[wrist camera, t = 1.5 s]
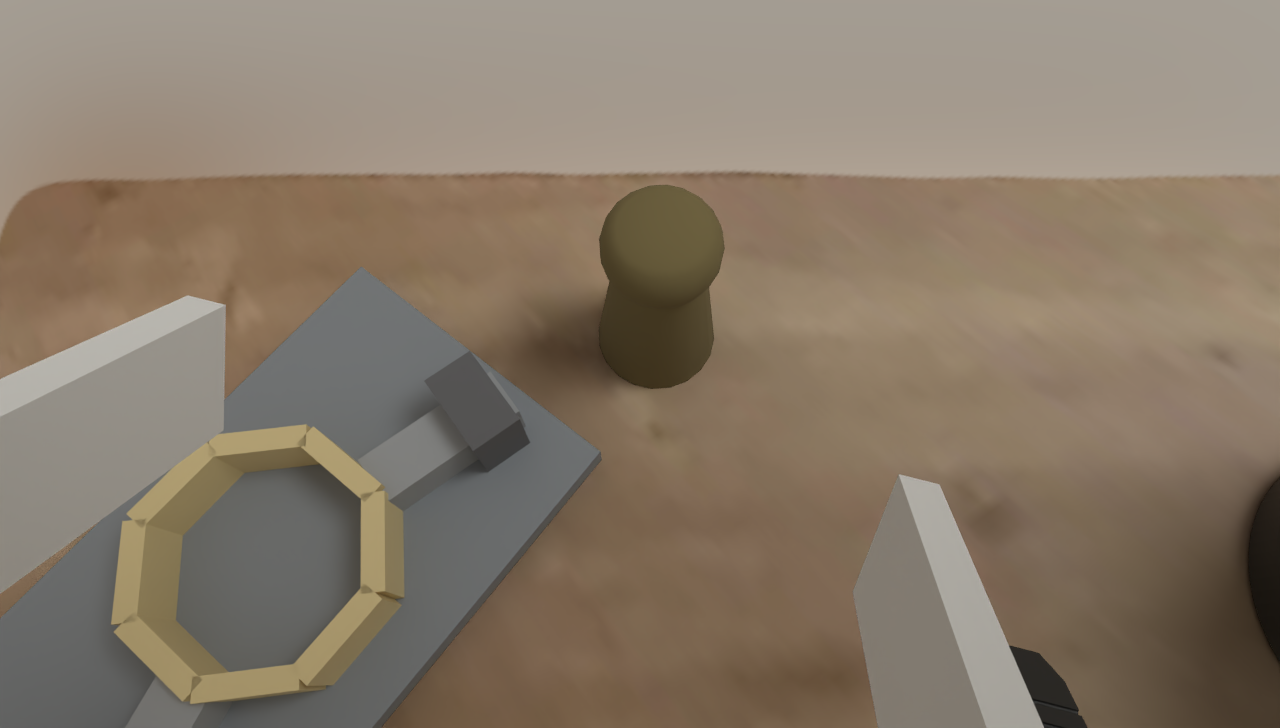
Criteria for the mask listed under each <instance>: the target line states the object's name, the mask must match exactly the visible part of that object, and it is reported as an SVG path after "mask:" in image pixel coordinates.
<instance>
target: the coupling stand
mask: <svg viewBox="0 0 1280 728" xmlns="http://www.w3.org/2000/svg"><path fill="white" fill-rule="evenodd" d="M601 460H602V459H601V453H600V451H599V450H598V449H596V448H595V447H594V446H592V445H591V444H590V443H588V442H587V441H586V440H585V439H583V438H582V437H581V436H579V435H578V434H577V433H576V432H574V431H573V430H572V429H570V428H569V427H568V426H566V425H565V424H564V423H563V422H561V421H560V420H559V419H557V418H556V417H555V416H554V415H552V414H551V413H550V412H548V411H547V410H546V409H545V408H543V407H542V406H541V405H539V404H538V403H537V402H535V401H534V400H533V399H532V398H530V397H529V396H528V395H526V394H525V393H524V392H523V391H521V390H520V389H519V388H517V387H516V386H515V385H514V384H512V383H511V382H510V381H508V380H507V379H506V378H504V377H503V376H502V375H501V374H499V373H498V372H497V371H495V370H494V369H493V368H492V367H490V366H489V365H488V364H486V363H485V362H484V361H482V360H481V359H480V358H479V357H477V356H476V355H475V354H473V353H472V352H471V351H470V350H468V349H467V348H466V347H464V346H463V345H462V344H461V343H459V342H458V341H457V340H455V339H454V338H453V337H451V336H450V335H449V334H448V333H446V332H445V331H444V330H442V329H441V328H440V327H439V326H437V325H436V324H435V323H433V322H432V321H431V320H430V319H428V318H427V317H426V316H424V315H423V314H422V313H420V312H419V311H418V310H417V309H415V308H414V307H413V306H411V305H410V304H409V303H408V302H406V301H405V300H404V299H402V298H401V297H400V296H399V295H397V294H396V293H395V292H393V291H392V290H391V289H389V288H388V287H387V286H386V285H384V284H383V283H382V282H380V281H379V280H378V279H377V278H375V277H374V276H373V275H371V274H370V273H369V272H367V271H366V270H365V269H364V268H362V267H360V268H359V269H358V270H357V271H356V272H355V273H354V274H353V275H352V276H351V277H350V278H349V279H348V280H347V281H346V282H345V283H344V284H343V285H342V286H341V287H340V288H339V289H338V290H337V291H336V292H335V293H334V294H333V295H332V296H331V297H330V298H329V299H327V300H326V301H325V302H324V303H323V304H322V305H321V306H320V307H319V308H318V309H317V310H316V311H315V312H314V313H313V314H312V315H311V316H310V317H309V318H308V319H307V320H306V321H305V322H304V323H303V324H302V325H301V326H300V327H299V328H298V329H297V330H296V331H295V332H294V333H293V334H292V335H291V336H290V337H288V338H287V339H286V340H285V341H284V342H283V343H282V344H281V345H280V346H279V347H278V348H277V349H276V350H275V351H274V352H273V353H272V354H271V355H270V356H269V357H268V358H267V359H266V360H265V361H264V362H263V363H262V364H261V365H260V366H259V367H258V368H257V369H256V370H255V371H254V372H253V373H252V374H251V375H249V376H248V377H247V378H246V379H245V380H244V381H243V382H242V383H241V384H240V385H239V386H238V387H237V388H236V389H235V390H234V391H233V392H232V393H231V394H230V395H229V396H228V397H227V398H226V399H225V400H224V430H223V431H222V432H221V433H219V434H218V435H216V436H215V437H214V438H212V439H211V440H210V441H208V442H207V443H206V444H204V445H203V446H201V447H200V448H199V449H197V450H196V451H195V452H193V453H192V454H190V455H189V456H188V457H186V458H185V459H184V460H182V461H181V462H180V463H178V464H177V465H175V466H174V467H173V468H171V469H170V470H169V471H167V472H166V473H165V474H163V475H162V476H160V477H159V478H158V479H156V480H155V481H154V482H152V483H151V484H150V485H148V486H147V487H145V488H144V489H143V490H141V491H140V492H139V493H137V494H136V495H134V496H133V497H132V498H130V499H129V500H128V501H126V502H125V503H124V504H122V505H121V506H119V507H118V508H117V509H115V510H114V511H113V512H111V513H110V514H109V515H107V516H106V517H104V518H103V519H102V520H101V521H100V522H99V523H98V524H97V525H96V526H95V527H94V528H92V529H91V530H90V531H89V532H88V533H87V534H86V535H85V536H84V537H83V538H82V539H81V540H80V541H79V542H78V543H77V544H76V545H75V546H74V547H73V548H72V549H71V550H70V551H69V552H68V553H67V554H66V555H65V556H64V557H63V558H62V559H61V560H60V561H59V562H58V563H57V564H56V565H55V566H53V567H52V568H51V569H50V570H49V571H48V572H47V573H46V574H45V575H44V576H43V577H42V578H41V579H40V580H39V581H38V582H37V583H36V584H35V585H34V586H33V587H32V588H31V589H30V590H29V591H28V592H27V593H26V594H25V595H24V596H23V597H22V598H21V599H20V600H19V601H18V602H17V603H16V604H14V605H13V606H12V607H11V608H10V609H9V610H8V611H7V612H6V613H5V614H4V615H3V616H2V617H1V618H0V728H381V727H382V726H383V725H384V723H385V722H386V721H387V720H388V718H389V717H390V716H391V715H392V714H393V712H394V711H395V710H396V709H397V708H398V706H399V705H400V704H401V703H402V701H403V700H404V699H405V698H406V697H407V695H408V694H409V693H410V692H411V691H412V689H413V688H414V687H415V686H416V684H417V683H418V682H419V681H420V680H421V678H422V677H423V676H424V675H425V674H426V672H427V671H428V670H429V669H430V667H431V666H432V665H433V664H434V663H435V661H436V660H437V659H438V658H439V657H440V655H441V654H442V653H443V652H444V650H445V649H446V648H447V647H448V646H449V644H450V643H451V642H452V641H453V640H454V638H455V637H456V636H457V635H458V633H459V632H460V631H461V630H462V629H463V627H464V626H465V625H466V624H467V623H468V621H469V620H470V619H471V618H472V616H473V615H474V614H475V613H476V612H477V610H478V609H479V608H480V607H481V606H482V604H483V603H484V602H485V601H486V599H487V598H488V597H489V596H490V595H491V593H492V592H493V591H494V590H495V589H496V587H497V586H498V585H499V584H500V582H501V581H502V580H503V579H504V578H505V576H506V575H507V574H508V573H509V572H510V570H511V569H512V568H513V567H514V565H515V564H516V563H517V562H518V561H519V559H520V558H521V557H522V556H523V554H524V553H525V552H526V551H527V550H528V548H529V547H530V546H531V545H532V544H533V542H534V541H535V540H536V539H537V537H538V536H539V535H540V534H541V533H542V531H543V530H544V529H545V528H546V527H547V525H548V524H549V523H550V522H551V520H552V519H553V518H554V517H555V516H556V514H557V513H558V512H559V511H560V510H561V508H562V507H563V506H564V505H565V503H566V502H567V501H568V500H569V499H570V497H571V496H572V495H573V494H574V493H575V491H576V490H577V489H578V488H579V486H580V485H581V484H582V483H583V482H584V480H585V479H586V478H587V477H588V476H589V474H590V473H591V472H592V471H593V469H594V468H595V467H596V466H597V465H598V463H599V462H600V461H601Z"/></svg>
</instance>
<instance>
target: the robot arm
mask: <svg viewBox="0 0 1280 728" xmlns="http://www.w3.org/2000/svg"><path fill="white" fill-rule="evenodd" d="M225 317H226V305H224V304H220V303H216V302H212V301H208V300H204V299H200V298H196V297H192V296H185V297H183V298H181V299H179V300H176V301H174V302H172V303H170V304H167V305H165V306H163V307H161V308H159V309H156V310H154V311H152V312H150V313H147V314H145V315H143V316H141V317H138V318H136V319H134V320H132V321H129V322H127V323H125V324H123V325H120V326H118V327H116V328H114V329H111V330H109V331H107V332H105V333H102V334H100V335H98V336H96V337H93V338H91V339H89V340H87V341H84V342H82V343H80V344H78V345H75V346H73V347H71V348H69V349H67V350H64V351H62V352H60V353H58V354H55V355H53V356H51V357H49V358H46V359H44V360H42V361H40V362H37V363H35V364H33V365H31V366H28V367H26V368H24V369H22V370H19V371H17V372H15V373H13V374H10V375H8V376H6V377H4V378H1V379H0V594H1V593H2V592H3V591H5V590H6V589H7V588H9V587H10V586H12V585H13V584H14V583H16V582H17V581H18V580H20V579H21V578H22V577H24V576H25V575H27V574H28V573H29V572H31V571H32V570H33V569H35V568H36V567H38V566H39V565H40V564H42V563H43V562H44V561H46V560H47V559H48V558H50V557H51V556H53V555H54V554H55V553H57V552H58V551H59V550H61V549H62V548H63V547H65V546H66V545H68V544H69V543H70V542H72V541H73V540H74V539H76V538H77V537H78V536H80V535H81V534H83V533H84V532H85V531H87V530H88V529H89V528H91V527H92V526H94V525H95V524H96V523H98V522H99V521H100V520H102V519H103V518H104V517H106V516H107V515H109V514H110V513H111V512H113V511H114V510H115V509H117V508H118V507H119V506H121V505H122V504H124V503H125V502H126V501H128V500H129V499H130V498H132V497H133V496H134V495H136V494H137V493H139V492H140V491H141V490H143V489H144V488H145V487H147V486H148V485H150V484H151V483H152V482H154V481H155V480H156V479H158V478H159V477H160V476H162V475H163V474H165V473H166V472H167V471H169V470H170V469H171V468H173V467H174V466H175V465H177V464H178V463H180V462H181V461H182V460H184V459H185V458H186V457H188V456H189V455H190V454H192V453H193V452H195V451H196V450H197V449H199V448H200V447H201V446H203V445H204V444H206V443H207V442H208V441H210V440H211V439H212V438H214V437H215V436H216V435H218V434H219V433H221V432H222V431H223V430H224V378H225ZM1249 573H1250V582H1251V588H1252V594H1253V598H1254V602H1255V606H1256V609H1257V613H1258V616H1259V619H1260V621H1261V624H1262V627H1263V629H1264V632H1265V634H1266V636H1267V638H1268V641H1269V643H1270V645H1271V647H1272V648H1273V650H1274V652H1275V654H1276V656H1277V658H1278V659H1279V661H1280V478H1279V479H1278V480H1277V481H1276V483H1275V484H1274V485H1273V486H1272V487H1271V489H1270V490H1269V492H1268V493H1267V494H1266V496H1265V498H1264V500H1263V501H1262V503H1261V505H1260V508H1259V510H1258V512H1257V515H1256V518H1255V521H1254V524H1253V528H1252V532H1251V538H1250V546H1249ZM853 597H854V602H855V607H856V613H857V618H858V623H859V629H860V634H861V639H862V645H863V650H864V655H865V661H866V666H867V671H868V677H869V682H870V687H871V693H872V698H873V703H874V709H875V714H876V719H877V725H878V728H1087V726H1086V724H1085V722H1084V720H1083V718H1082V716H1080V715H1078V711H1079V710H1078V708H1077V706H1076V704H1075V702H1074V699H1073V697H1072V695H1071V693H1070V691H1069V689H1068V687H1067V685H1066V683H1065V681H1064V680H1063V679H1062V678H1061V677H1060V676H1059V675H1058V674H1057V673H1056V671H1055V670H1054V669H1053V668H1052V667H1051V666H1050V665H1049V664H1048V663H1047V662H1046V661H1045V659H1044V658H1043V657H1042V656H1041V655H1040V654H1039V653H1036V652H1033V651H1029V650H1025V649H1021V648H1017V647H1013V646H1009V645H1008V643H1007V640H1006V638H1005V636H1004V633H1003V631H1002V629H1001V626H1000V624H999V622H998V619H997V617H996V615H995V613H994V610H993V608H992V606H991V603H990V601H989V599H988V596H987V594H986V592H985V589H984V587H983V585H982V582H981V580H980V578H979V575H978V573H977V571H976V568H975V566H974V564H973V561H972V559H971V557H970V555H969V552H968V550H967V548H966V545H965V543H964V541H963V538H962V536H961V534H960V531H959V529H958V527H957V524H956V522H955V520H954V517H953V515H952V513H951V510H950V508H949V506H948V503H947V501H946V499H945V497H944V494H943V492H942V490H941V487H940V485H939V484H936V483H932V482H928V481H924V480H920V479H916V478H912V477H908V476H904V475H900V474H899V475H898V477H897V480H896V482H895V485H894V488H893V490H892V493H891V495H890V498H889V500H888V503H887V505H886V508H885V511H884V513H883V516H882V518H881V521H880V523H879V526H878V528H877V531H876V534H875V536H874V539H873V541H872V544H871V546H870V549H869V551H868V554H867V557H866V559H865V562H864V564H863V567H862V569H861V572H860V574H859V577H858V580H857V582H856V585H855V587H854V590H853Z"/></svg>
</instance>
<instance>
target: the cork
mask: <svg viewBox="0 0 1280 728" xmlns="http://www.w3.org/2000/svg"><path fill="white" fill-rule="evenodd" d="M599 242H600V257H601V264H602V266H603V268H604V270H605V273H606V275H607V277H608V279H609V281H610V282H609V286H608V291H607V295H606V300H605V304H604V309H603V313H602V318H601V322H600V327H599V341H600V348H601V350H602V353H603V355H604V357H605V360H606V362H607V363H608V364H609V366H610V367H611V368H612V369H613V370H614V371H615V372H616V373H617V375H619V376H620V377H622V378H624V379H625V380H627V381H629V382H631V383H632V384H634V385H639V386H643V387H647V388H651V389H653V388H668V387H672V386H675V385H678V384H680V383H683V382H685V381H688V380H689V379H690V378H691V377H693V376H694V375H695V374H696V373H698V372H699V371H700V370H701V369H702V367H703V366H704V364H705V363H706V361H707V359H708V358H709V356H710V354H711V349H712V345H713V341H714V335H713V324H712V314H711V304H710V293H709V286H710V285H711V283H712V282H713V280H714V279H715V277H716V276H717V274H718V273H719V270H720V265H721V261H722V257H723V253H724V249H725V248H724V240H723V232H722V228H721V225H720V223H719V221H718V219H717V217H716V215H715V213H714V211H713V210H712V209H711V208H710V207H709V206H708V205H707V204H706V203H705V202H704V201H703V200H702V199H701V198H700V197H698V196H697V195H695V194H693V193H691V192H689V191H687V190H685V189H683V188H679V187H675V186H670V185H654V186H648V187H645V188H642V189H639V190H636V191H633V192H631V193H630V194H628V195H627V196H625V197H624V198H623V199H621V200H620V201H619V202H617V203H616V205H615V206H614V207H613V209H612V210H611V211H610V213H609V214H608V215H607V217H606V219H605V222H604V225H603V228H602V232H601V235H600V238H599Z"/></svg>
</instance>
